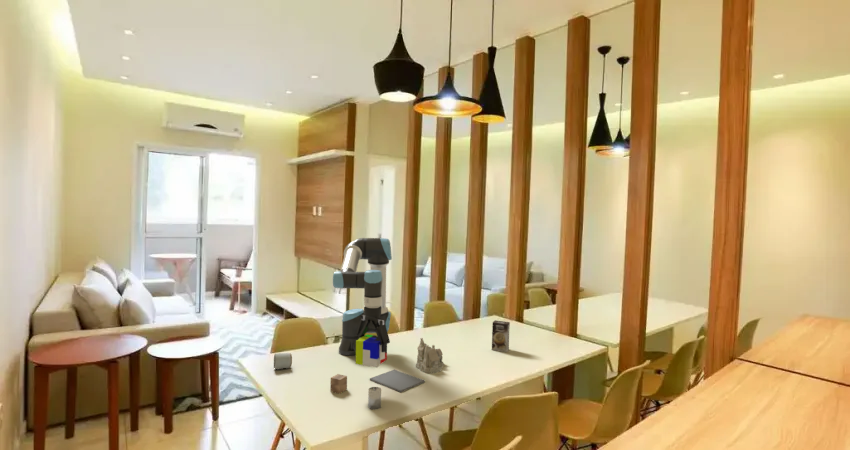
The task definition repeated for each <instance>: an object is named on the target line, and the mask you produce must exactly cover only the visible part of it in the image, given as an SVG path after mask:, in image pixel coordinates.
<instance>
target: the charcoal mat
mask: <svg viewBox="0 0 850 450" xmlns="http://www.w3.org/2000/svg"><path fill="white" fill-rule="evenodd" d="M369 381H371V382H374V383H375V384H378V385H380V386H383V387H386V388H388V389H391V390H394V391H396V392H399V393H402V392H403V393H404V392H406V391H407V390H410V389H412V388H414V387H417V386H420V385H421V384H425V382H426V380H425V379H422V378H419V377H417V376H414V375H412V374H408V373H406V372H403V371H400V370H397V369H392V370H389V371H387V372H384V373H381V374H378V375H375V376H373V377H370V378H369Z"/></svg>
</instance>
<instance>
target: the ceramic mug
mask: <svg viewBox="0 0 850 450" xmlns="http://www.w3.org/2000/svg"><path fill="white" fill-rule="evenodd" d="M292 355H293V354H291V353H289V352H282V353H281V352H280V353H278V352H276V353H274V354H273V369H274V368H275V371H277V370H284V369H283V368H286V369H290V368H291V367H292V364H293V356H292ZM276 369H277V370H276Z"/></svg>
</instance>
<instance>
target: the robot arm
mask: <svg viewBox="0 0 850 450" xmlns="http://www.w3.org/2000/svg"><path fill="white" fill-rule="evenodd" d="M391 246H392V245H391V242H390V239H389V238H383V237H360V238H357V239H354V240H351V242H349V243H348V244H347V245H345V248H344V250H343V259H342V263H341V266H340V270H339V271H338V270H337V271H334V273H333V275H332V286H333V288H335V289H364V292H363V293H364V297H363V299H364V300H363V308H352V309H349V310H346V311H344V312H343V313H342V319H341V322H342V327H341V328H342V329H341V330H342V335H341V341H340V343H339V344H340V345H339V346H338V353H339V354H340V355H343V356H347V357H348V356H351V357H352V356H354V357H356V340H358V339H360V338H361V337H363V336H365V335H367V334H376V336H378V338H379V341H380V343H381V344H379V360H382V359H385V352H386V344H387V345H388V344H390V343H391V340H390V337H389V333H388V332H389V329H390V324H391V315H392V313H391V311H389V307H387V306H386V305H387V304H386V302H387V298H386V297H387V295H386V294H387V266H388V265H389V264H390V261H391V260H392V259H393V258H392V257H393V256H392V249H391V248H392V247H391ZM360 260H367V264H368V265H369V266H370V269H368V270H366V271H358V270H357V269H358V266H359V261H360ZM386 340H387V341H386Z"/></svg>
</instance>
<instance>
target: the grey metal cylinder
mask: <svg viewBox="0 0 850 450" xmlns="http://www.w3.org/2000/svg"><path fill="white" fill-rule="evenodd" d="M367 398H368V399H367V401H368V404H367V407H368V409H370V410H374V411H375V410H380V409H381V408H382V388H381V387H379V386H372V387H369V388H368V397H367Z"/></svg>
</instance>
